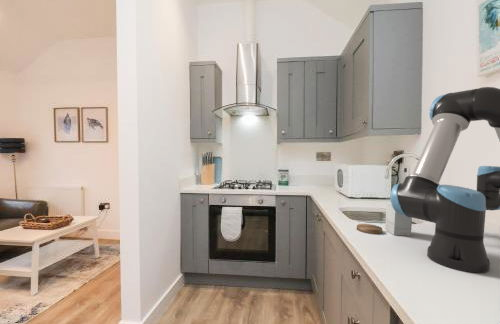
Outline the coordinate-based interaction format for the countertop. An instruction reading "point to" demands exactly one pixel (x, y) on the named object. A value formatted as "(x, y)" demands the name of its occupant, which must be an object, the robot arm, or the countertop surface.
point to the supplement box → (397, 222)
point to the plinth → (369, 228)
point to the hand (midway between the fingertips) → (421, 201)
